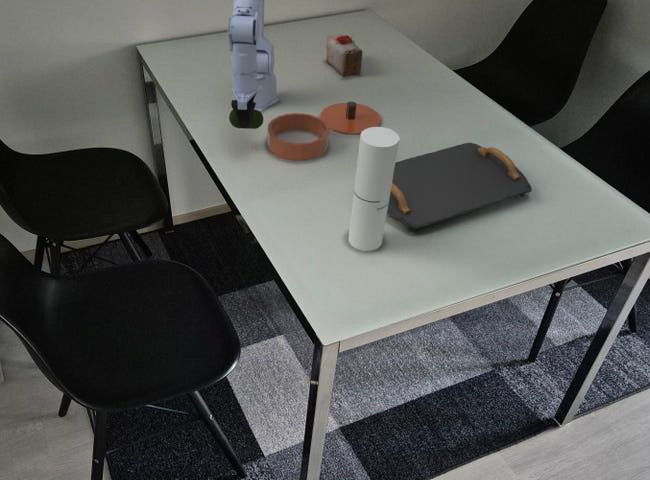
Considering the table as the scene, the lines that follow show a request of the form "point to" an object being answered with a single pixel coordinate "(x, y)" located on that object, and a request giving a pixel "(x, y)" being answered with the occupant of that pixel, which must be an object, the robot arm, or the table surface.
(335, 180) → the table surface
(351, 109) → the lid
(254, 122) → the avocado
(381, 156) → the cylindrical container
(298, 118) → the pot
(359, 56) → the food item
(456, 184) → the serving tray
